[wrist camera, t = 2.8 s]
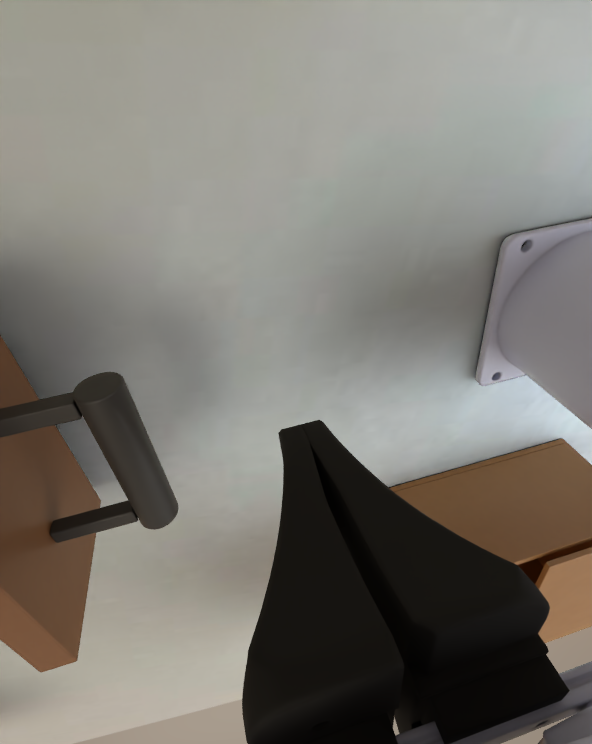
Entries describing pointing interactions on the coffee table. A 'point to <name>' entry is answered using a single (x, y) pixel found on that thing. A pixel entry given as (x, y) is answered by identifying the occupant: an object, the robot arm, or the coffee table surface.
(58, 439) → the drawer
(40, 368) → the coffee table surface
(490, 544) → the carton
